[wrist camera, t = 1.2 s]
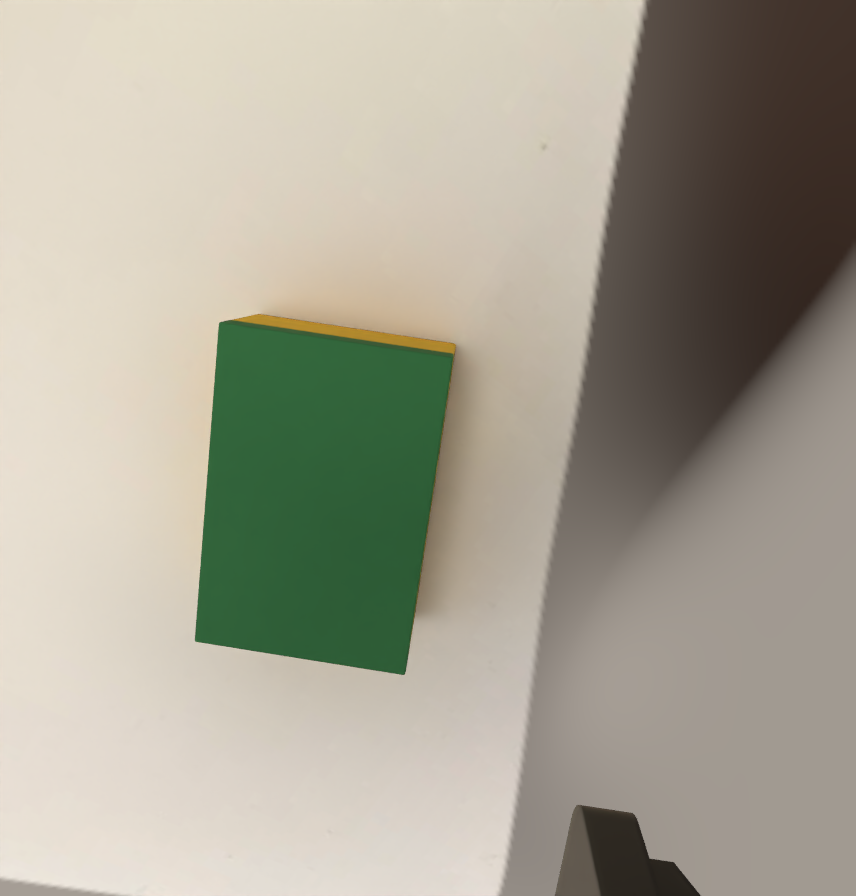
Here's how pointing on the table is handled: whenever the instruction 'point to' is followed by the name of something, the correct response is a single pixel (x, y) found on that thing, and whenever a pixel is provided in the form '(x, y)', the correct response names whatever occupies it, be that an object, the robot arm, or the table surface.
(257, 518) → the sponge
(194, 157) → the table surface
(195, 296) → the table surface
